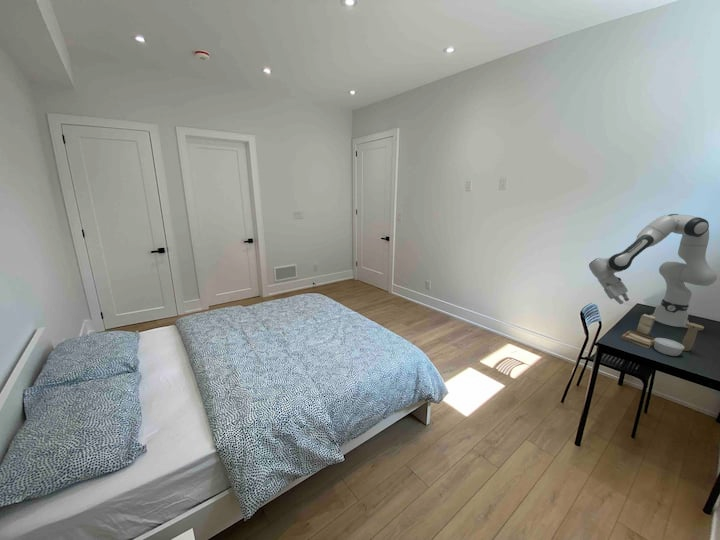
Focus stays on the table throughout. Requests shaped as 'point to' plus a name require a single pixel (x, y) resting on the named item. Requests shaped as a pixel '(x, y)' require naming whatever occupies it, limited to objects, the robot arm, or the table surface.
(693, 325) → the handle
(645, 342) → the wooden tray
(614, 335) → the table surface
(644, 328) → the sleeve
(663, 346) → the ramekin
